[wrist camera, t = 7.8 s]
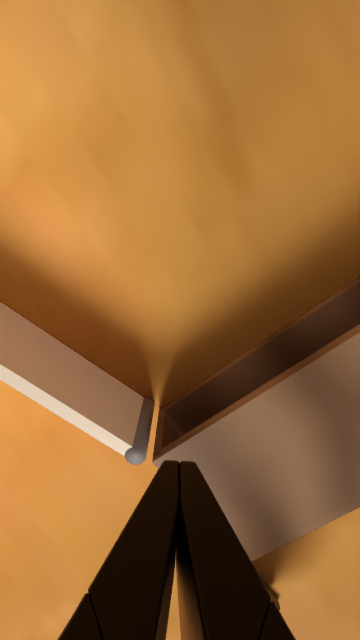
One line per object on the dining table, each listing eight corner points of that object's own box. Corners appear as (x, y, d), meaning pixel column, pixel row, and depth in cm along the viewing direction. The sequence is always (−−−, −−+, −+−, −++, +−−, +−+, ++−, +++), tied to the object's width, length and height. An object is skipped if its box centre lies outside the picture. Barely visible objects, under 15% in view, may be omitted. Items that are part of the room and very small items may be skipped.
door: (157, 403, 21) (150, 454, 16) (141, 422, 21) (130, 476, 16) (-61, 257, 18) (-151, 265, 13) (-74, 282, 18) (-166, 298, 13)
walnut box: (234, 494, 23) (248, 563, 18) (159, 410, 21) (152, 461, 16) (447, 375, 20) (532, 420, 15) (384, 260, 18) (460, 269, 13)
